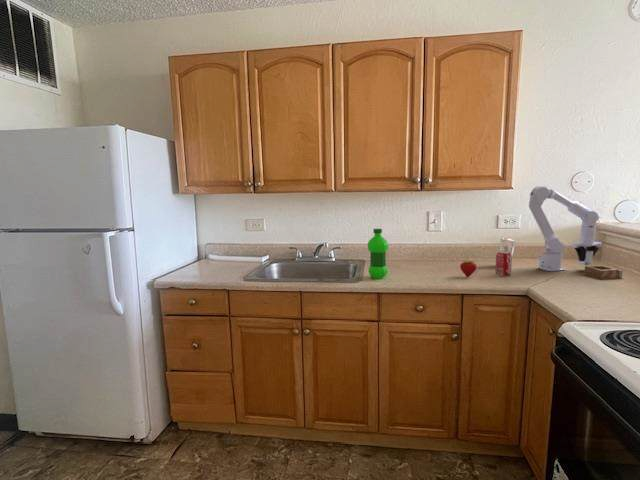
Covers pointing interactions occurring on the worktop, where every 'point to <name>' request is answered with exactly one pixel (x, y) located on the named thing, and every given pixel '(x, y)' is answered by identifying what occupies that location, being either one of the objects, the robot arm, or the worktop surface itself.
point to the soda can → (503, 263)
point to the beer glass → (507, 245)
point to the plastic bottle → (378, 255)
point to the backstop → (620, 274)
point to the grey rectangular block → (587, 258)
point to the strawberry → (468, 268)
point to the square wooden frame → (601, 272)
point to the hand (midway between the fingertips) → (585, 260)
